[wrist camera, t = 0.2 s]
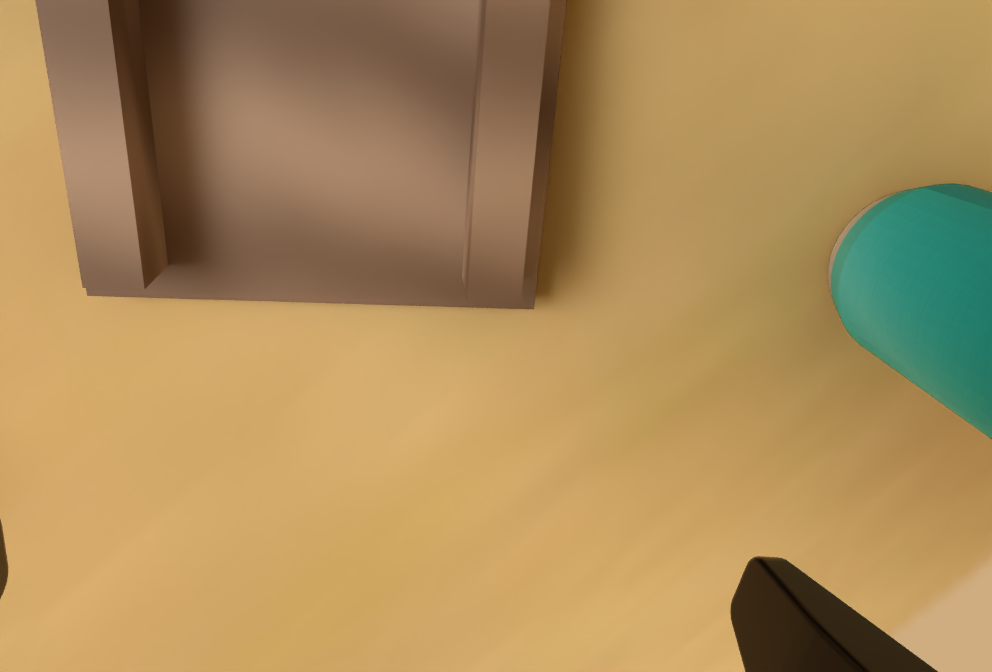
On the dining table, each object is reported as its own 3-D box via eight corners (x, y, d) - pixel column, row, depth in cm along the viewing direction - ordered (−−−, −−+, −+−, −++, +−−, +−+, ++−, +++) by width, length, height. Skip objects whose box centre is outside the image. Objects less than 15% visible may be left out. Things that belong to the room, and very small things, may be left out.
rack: (529, 297, 23) (575, 404, 17) (100, 283, 21) (-30, 396, 15) (583, -237, 17) (684, -384, 11) (9, -316, 16) (-264, -545, 9)
